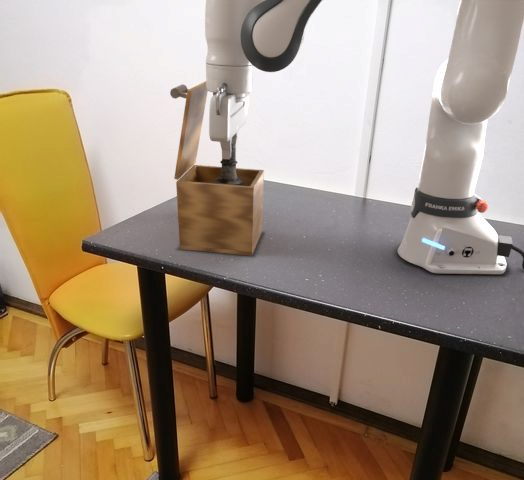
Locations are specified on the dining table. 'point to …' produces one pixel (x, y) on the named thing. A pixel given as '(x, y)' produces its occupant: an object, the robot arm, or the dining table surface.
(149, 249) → the dining table surface
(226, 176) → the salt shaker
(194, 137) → the lid
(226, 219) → the chest
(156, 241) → the dining table surface
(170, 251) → the dining table surface
